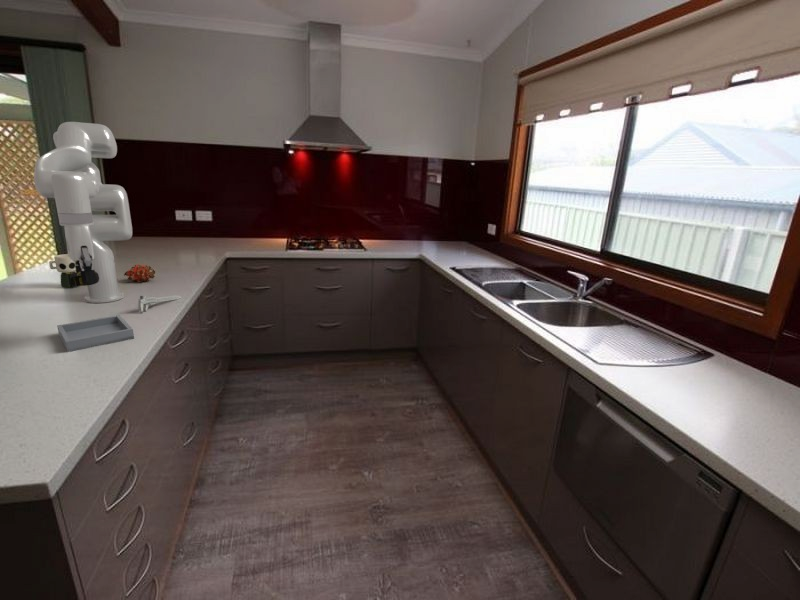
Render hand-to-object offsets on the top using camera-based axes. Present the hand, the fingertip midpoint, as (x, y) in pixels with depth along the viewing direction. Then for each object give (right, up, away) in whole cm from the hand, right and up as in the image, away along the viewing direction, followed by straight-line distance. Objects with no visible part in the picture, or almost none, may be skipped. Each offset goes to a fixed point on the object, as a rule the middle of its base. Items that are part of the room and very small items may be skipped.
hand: (86, 280), depth 121 cm
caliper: (+1, -8, +36) cm, 37 cm away
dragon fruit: (-24, +2, +64) cm, 68 cm away
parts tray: (-1, -17, +5) cm, 17 cm away
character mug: (-45, 0, +51) cm, 68 cm away
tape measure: (-1, -2, -1) cm, 2 cm away
